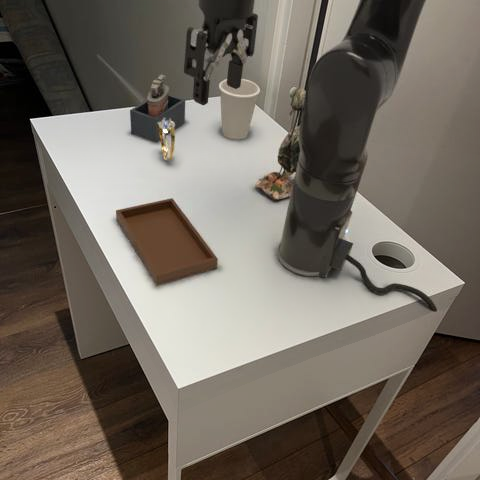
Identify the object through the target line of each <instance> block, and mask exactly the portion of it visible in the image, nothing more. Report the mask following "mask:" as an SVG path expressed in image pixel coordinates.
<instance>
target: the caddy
mask: <svg viewBox="0 0 480 480" xmlns="http://www.w3.org/2000/svg"><path fill="white" fill-rule="evenodd" d="M163 117H165V120H166V121H169V119H171V121H173V122H174V123H175V127H174V131H175V130H176V129H178V128H179V127H181V126H182V125H183V124H184V123H185V122H186V100H185V99H184V98H181V97H178V96H174V95H172V94H170V93H168V110H166V111H164V112H163V113H161V114H160V115H158V116H157V117H152V116H149V109H148V103H147V99H145V100H144V101H143V102H141V103H139V104H138V105H136V106H134V107H133V108H131V109H129V121H130V133H131V135H135V136H137V137H139V138H142V139H145V140H147V141H150V142H153V143H156V144H157V143H158V142H161V141H160V136H159V130H158V122H162V120H163ZM161 131H162V129H161ZM167 132H168V135H169V134H171V133H170V130H169V131H167Z"/></svg>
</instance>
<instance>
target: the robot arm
mask: <svg viewBox="0 0 480 480" xmlns="http://www.w3.org/2000/svg"><path fill="white" fill-rule="evenodd" d="M426 1H427V0H359V2H358V4H357V7H356V10H355V11H354V15H353V17H352V19H351V21H350V24H349V26H348V28H347V30H346V33H345V35H344V37H343V38H342V40H341V42H339V43H338V44H336V45H335V46H333V47H331V48H330V49H329V50H327V51H326V52H325V53H323V54H322V55H321V56H320V57H319V58H318V59H317V60H316V62H315V63H314V65H313V68H312V70H311V72H310V75H309V77H308V82H307V85H306V89H305V91H306V94H305V99H304V105H303V110H302V111H301V117H300V123H299V126H300V129H299V146H300V154H299V159H298V163H297V168H296V172H294V178H293V187H292V191H291V196H290V195H289V201H288V206H287V211H286V216H285V220H284V225H283V229H282V234H281V239H280V243H279V246H278V249H277V250H278V251H277V257H278V260H279V262H280V263H281V265H282V266H284V267H285V268H286V269H287V270H289V271H290V272H292V273H295V274H297V275H300V276H304V277H321V278H323V279H324V278H327V276H328V275H329V273H330V272H331V270H332V269H335V270H338V271H341V270H342V268H343V267H344V265H345V263H346V261H347V262H348V263H350V264H351V265H353V266H354V267H355V268H356V269H357V270H358V271H359V273H360V278H361V280H362V281H363V282H364V284H365V286H366V287H367V289H369V290H370V291H372V292H373V293H376V294H379V295H382V294H386V293H388V292H390V291H392V290H399V291H402V292H403V291H404V292H407V293H411V294H413V295H415V296H416V297H418V298H420V299H421V300H422V301H424V303H425V304H426V305H427V306H428V308H429V310H430V311H432V312H434V313H436V312H438V309H437V306H436V304H435V302H434V301H433V299H431V297H429V296H428V295H427V294H426V293H425V292H423V291H421V290H420V289H418V288H416V287H414V286H413V287H412V286H410V285H407V284H402V283H397V282H396V283H390V284H388V285H386V286H384V287H378V286H376V285H375V284H373V283H372V281H371V280H370V279H369V277H368V274H367V271H366V268H365V267H364V265H362V263H360V261H358V260H357V259H356V258H354V257H352V255H350V254H351V251H352V250H353V246H354V242H351V241H349V240H346V239H345V237H346V236H345V235H346V234H347V233H348V232H349V230H348V227H349V224H350V221H351V218H352V215H353V210H352V207H353V204H354V201H355V199H356V195H357V192H358V189H359V185H360V183H361V180H362V177H363V174H364V171H365V168H366V165H367V162H368V156H369V153H368V150H367V148H366V147H367V144H368V139H369V137H370V133H371V131H372V130H371V129H372V126H373V123H374V120H375V118H376V114H377V111H378V110H379V109H380V108H382V106H383V105H384V104H386V103H387V102H388V100H389V99H390V98H391V96H393V93H394V91H395V90H396V87H397V85H398V83H399V80H400V78H401V74H402V71H403V69H404V64H405V61H406V58H407V56H408V53H409V49H410V46H411V43H412V40H413V37H414V35H415V32H416V29H417V25H418V22H419V20H420V17H421V14H422V11H423V8H424V6H425V5H426ZM254 6H255V0H198V7H199V9H200V10H201V12H202V14H203V17H204V18H203V23H202V26H201V28H197V29H196V28H194V27H191V26H189V27H188V28H187V30H186V37H185V38H186V39H185V50H184V51H185V53H184V63H183V64H184V65H183V74H185V75H187V76H189V77H191V78H193V86H192V87H193V90H192V98H193V101H194V102H195V103H197V104H198V105H201V106H206V105H207V104H209V95H210V85H211V83H210V82H211V79H210V78H211V75H212V73H213V71H214V69H215V68H217V67H218V66H219V65H220V63H221V60H222V59H223V58H224V57H225V56H227V55H229V58H230V60H228V66H227V67H228V68H227V76H226V79H227V85H228V86H230V87H232V88H234V89H237V88H239V87H240V85H241V79H243V78H242V77H243V71H244V65H245V64H246V63H247V61H248V57H253V56H254V54H255V46H256V38H257V31H258V29H257V28H258V22H259V21H258V20H259V15H258V14H257V13H254V8H255V7H254ZM245 39H246V40H247V41H248V42H247V43H248V44H247V45H246V42H245V41H246V40H245ZM206 51H208V54H207V53H206ZM209 54H210V55H209ZM193 61H194V63H193ZM205 63H206V66H205ZM204 66H205V68H204Z"/></svg>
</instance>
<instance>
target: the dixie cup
mask: <svg viewBox="0 0 480 480" xmlns="http://www.w3.org/2000/svg"><path fill="white" fill-rule="evenodd" d="M218 88H219V94H220V95H219V96H220V118H221V120H220V121H221V122H220V123H221V134H222V136H224V137H225V138H227V139H229V140H237V141H238V140H240V141H241V140H244V139H246V138H247V137H248V135H249V132H250V127H251V123H252V119H253V116H254V113H255V112H254V111H255V108H256V104H257V100H258V95H259V94H260V92H261V90H260V87H259V86H258V84H256V83H255V82H254V81H251V80H249V79H246V78H242V79H241V85H240V87H239V88H237V89H234V88H232V87H230V86H228V85H227V78H226V79H224V80H222V81H221V82H219V85H218Z"/></svg>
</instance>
